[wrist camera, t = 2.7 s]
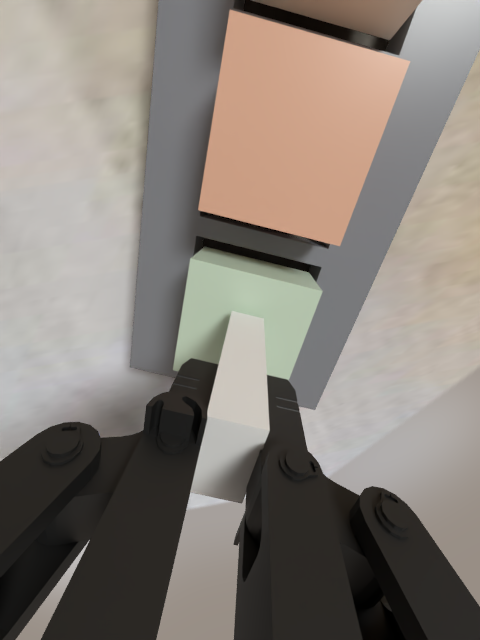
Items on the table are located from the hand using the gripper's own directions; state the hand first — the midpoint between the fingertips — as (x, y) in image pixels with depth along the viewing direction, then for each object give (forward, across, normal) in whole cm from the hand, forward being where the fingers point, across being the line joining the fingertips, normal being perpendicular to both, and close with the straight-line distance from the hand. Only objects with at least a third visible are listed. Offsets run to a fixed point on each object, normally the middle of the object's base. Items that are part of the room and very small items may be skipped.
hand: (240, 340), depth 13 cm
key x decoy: (+4, 0, +8) cm, 9 cm away
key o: (+4, 0, 0) cm, 4 cm away
